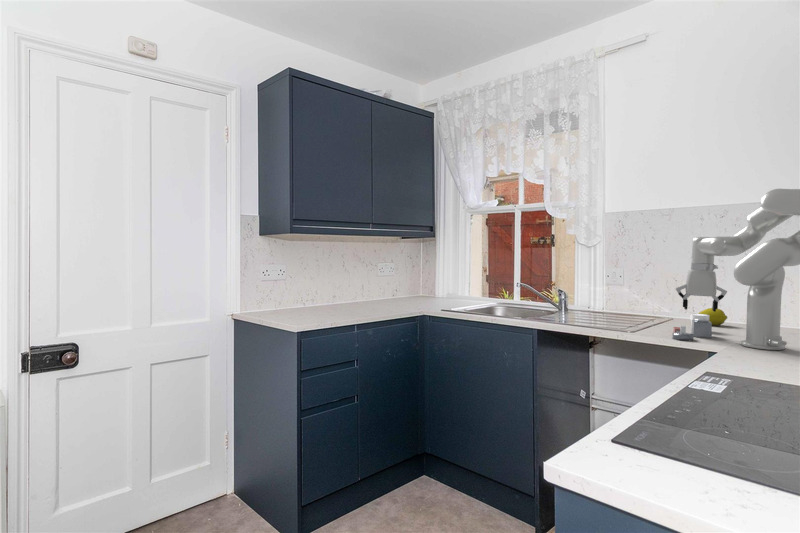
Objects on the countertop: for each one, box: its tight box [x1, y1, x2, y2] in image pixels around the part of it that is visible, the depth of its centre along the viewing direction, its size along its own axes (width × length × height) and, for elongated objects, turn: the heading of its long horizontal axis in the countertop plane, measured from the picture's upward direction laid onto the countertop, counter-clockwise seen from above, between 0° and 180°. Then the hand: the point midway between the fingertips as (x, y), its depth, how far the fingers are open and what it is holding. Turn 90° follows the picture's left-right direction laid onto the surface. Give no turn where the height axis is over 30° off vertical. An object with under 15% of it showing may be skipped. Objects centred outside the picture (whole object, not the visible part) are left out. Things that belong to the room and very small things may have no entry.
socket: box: [690, 318, 713, 339], centre depth 185 cm, size 6×6×7 cm
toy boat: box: [671, 325, 695, 342], centre depth 185 cm, size 20×7×5 cm, turn 155°
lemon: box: [698, 307, 728, 327], centre depth 211 cm, size 11×8×8 cm
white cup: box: [690, 313, 709, 328], centre depth 197 cm, size 7×7×7 cm
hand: (699, 310), depth 186 cm, fingers open, 9 cm apart
